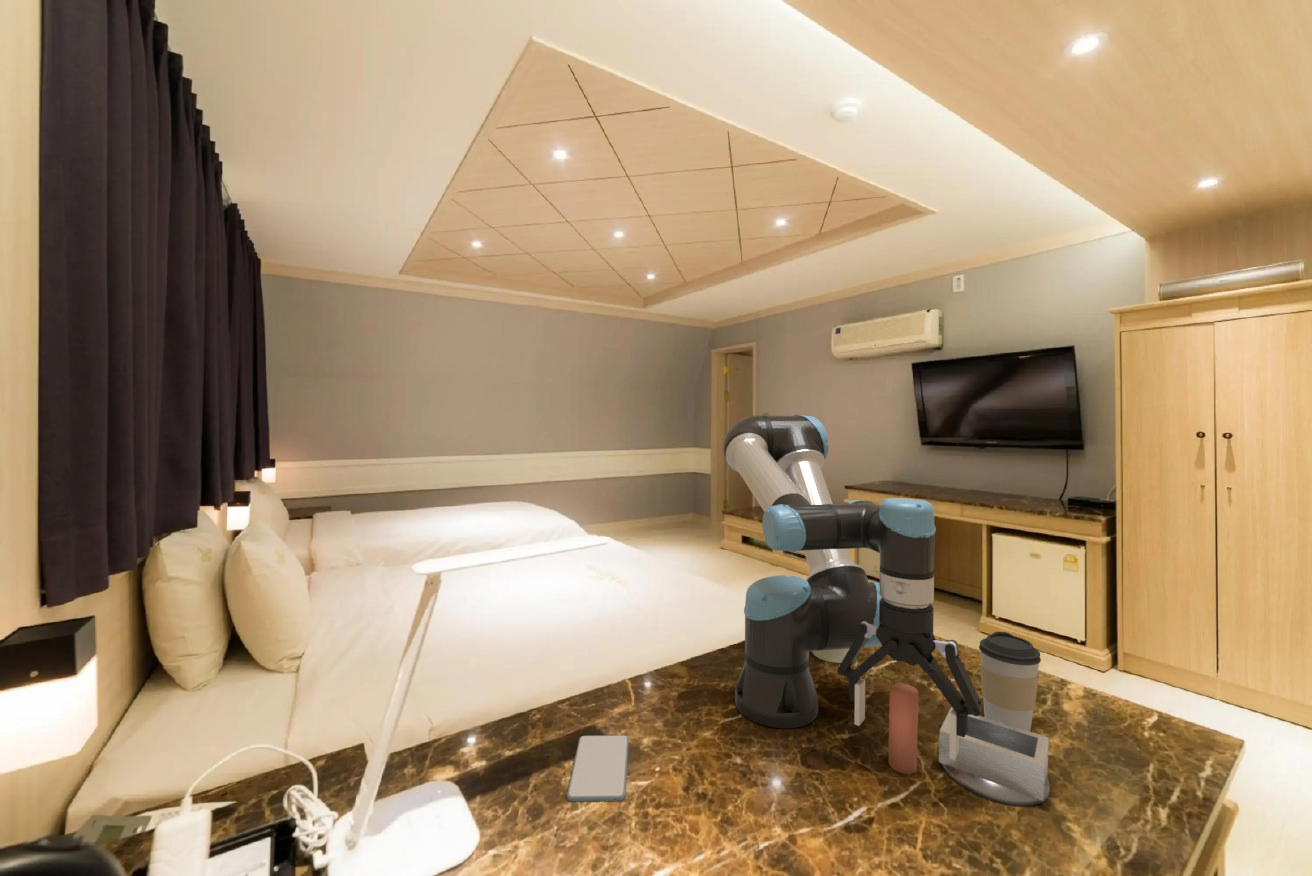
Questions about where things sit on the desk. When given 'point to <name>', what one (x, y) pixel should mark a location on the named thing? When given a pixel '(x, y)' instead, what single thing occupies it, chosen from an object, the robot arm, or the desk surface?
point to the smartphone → (599, 769)
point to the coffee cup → (1009, 679)
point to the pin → (903, 728)
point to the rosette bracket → (998, 761)
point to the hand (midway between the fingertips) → (904, 737)
